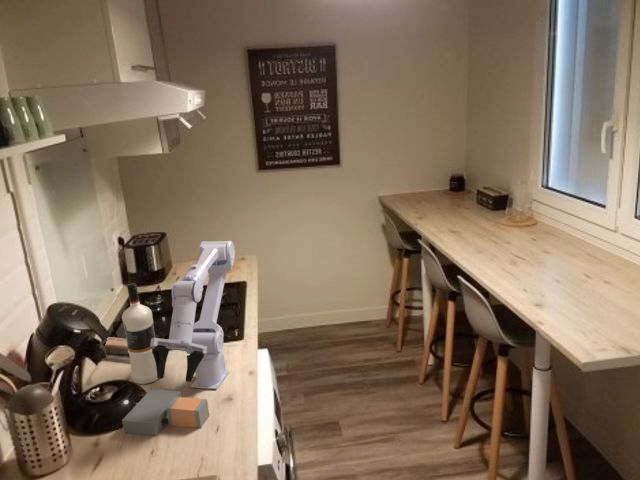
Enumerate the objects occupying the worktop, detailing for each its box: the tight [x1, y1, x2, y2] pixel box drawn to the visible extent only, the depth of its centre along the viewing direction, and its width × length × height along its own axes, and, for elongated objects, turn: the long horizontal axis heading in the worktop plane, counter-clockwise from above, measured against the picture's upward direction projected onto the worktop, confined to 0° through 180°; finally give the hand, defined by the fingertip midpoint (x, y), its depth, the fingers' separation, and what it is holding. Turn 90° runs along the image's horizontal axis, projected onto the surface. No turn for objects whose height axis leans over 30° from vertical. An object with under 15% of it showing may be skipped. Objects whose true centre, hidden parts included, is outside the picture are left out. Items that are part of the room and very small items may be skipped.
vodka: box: [121, 282, 160, 385], centre depth 153 cm, size 9×9×30 cm
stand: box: [121, 388, 183, 436], centre depth 137 cm, size 14×9×4 cm, turn 167°
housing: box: [166, 396, 210, 429], centre depth 135 cm, size 9×5×5 cm, turn 77°
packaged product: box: [103, 336, 131, 364], centre depth 172 cm, size 18×5×10 cm
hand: (174, 379), depth 130 cm, fingers open, 7 cm apart
